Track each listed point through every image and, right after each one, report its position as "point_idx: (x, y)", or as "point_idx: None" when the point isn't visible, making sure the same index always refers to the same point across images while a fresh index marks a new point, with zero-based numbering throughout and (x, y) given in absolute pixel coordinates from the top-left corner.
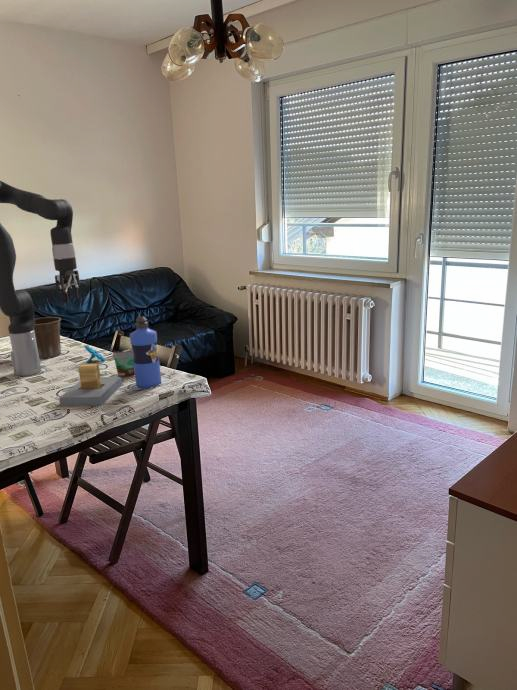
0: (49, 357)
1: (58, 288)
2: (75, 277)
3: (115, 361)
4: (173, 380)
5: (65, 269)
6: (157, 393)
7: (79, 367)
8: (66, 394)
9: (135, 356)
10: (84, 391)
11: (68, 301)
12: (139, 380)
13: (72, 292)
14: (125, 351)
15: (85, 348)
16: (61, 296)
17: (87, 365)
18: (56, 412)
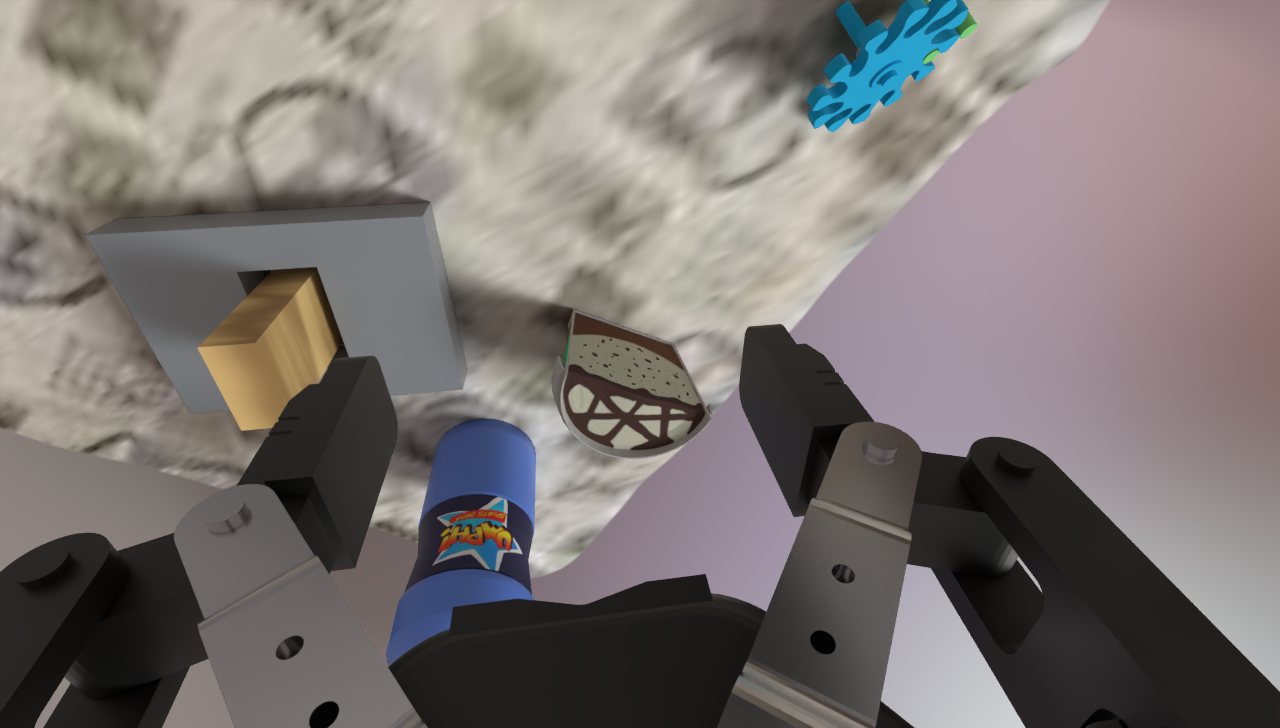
0: None
1: (40, 643)
2: (1068, 718)
3: (566, 350)
4: (535, 511)
5: None
6: (395, 512)
7: (204, 350)
8: (144, 252)
9: (423, 542)
10: (223, 320)
11: (386, 445)
12: (432, 468)
13: (785, 396)
14: (617, 406)
15: (875, 22)
16: (256, 458)
17: (233, 390)
18: (37, 242)
